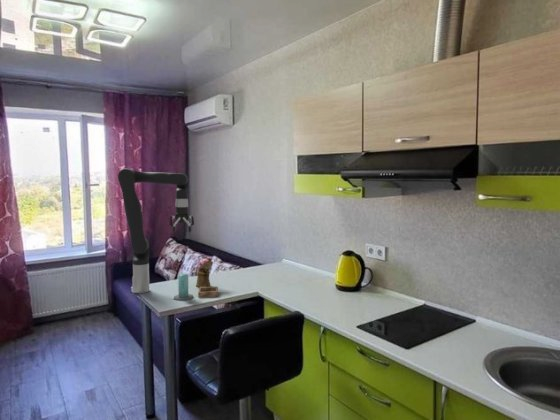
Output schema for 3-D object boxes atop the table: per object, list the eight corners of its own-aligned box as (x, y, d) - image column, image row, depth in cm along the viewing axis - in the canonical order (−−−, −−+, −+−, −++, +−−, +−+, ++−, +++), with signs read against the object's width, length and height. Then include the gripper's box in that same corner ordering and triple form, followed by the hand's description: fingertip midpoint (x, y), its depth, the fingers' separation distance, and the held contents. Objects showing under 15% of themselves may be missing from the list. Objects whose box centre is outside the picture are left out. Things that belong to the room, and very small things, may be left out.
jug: (179, 295, 228) (178, 273, 227) (188, 295, 229) (188, 273, 228) (177, 299, 220) (177, 277, 219) (187, 299, 221) (187, 276, 220)
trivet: (172, 300, 220) (172, 299, 220) (175, 295, 231) (175, 294, 231) (192, 300, 221) (192, 299, 221) (194, 294, 232) (194, 293, 232)
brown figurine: (204, 290, 241) (204, 261, 240) (193, 285, 251) (193, 258, 250) (216, 287, 247) (216, 259, 246) (205, 283, 257) (204, 256, 256)
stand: (198, 297, 227) (198, 292, 226) (199, 291, 238) (199, 287, 237) (217, 296, 228) (217, 291, 228) (217, 291, 239) (217, 286, 239)
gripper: (194, 205, 242) (194, 231, 243) (170, 205, 240) (171, 231, 241) (193, 206, 235) (193, 233, 236) (169, 206, 233) (169, 233, 234)
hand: (182, 232), depth 239 cm, fingers open, 8 cm apart
